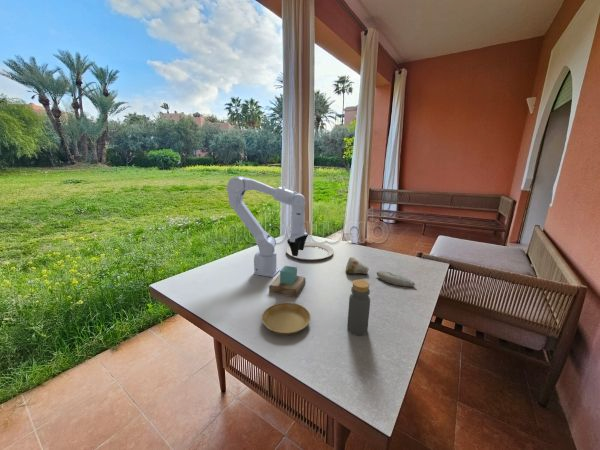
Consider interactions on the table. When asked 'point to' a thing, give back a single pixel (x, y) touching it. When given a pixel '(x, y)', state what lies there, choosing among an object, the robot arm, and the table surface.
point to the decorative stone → (395, 278)
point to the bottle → (359, 308)
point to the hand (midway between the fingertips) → (298, 252)
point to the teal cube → (288, 275)
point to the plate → (310, 244)
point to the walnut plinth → (287, 287)
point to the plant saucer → (286, 318)
